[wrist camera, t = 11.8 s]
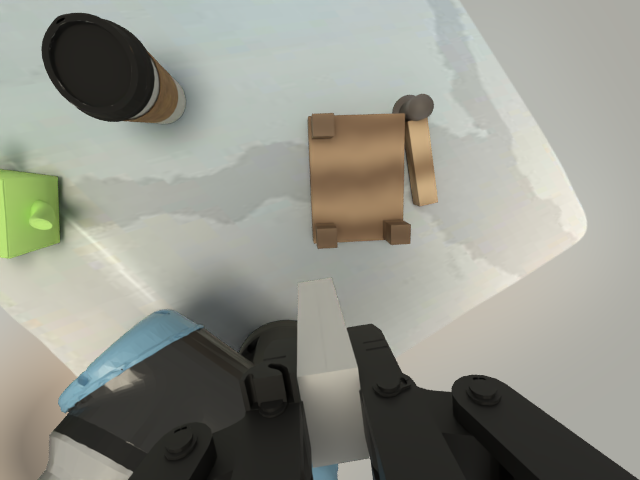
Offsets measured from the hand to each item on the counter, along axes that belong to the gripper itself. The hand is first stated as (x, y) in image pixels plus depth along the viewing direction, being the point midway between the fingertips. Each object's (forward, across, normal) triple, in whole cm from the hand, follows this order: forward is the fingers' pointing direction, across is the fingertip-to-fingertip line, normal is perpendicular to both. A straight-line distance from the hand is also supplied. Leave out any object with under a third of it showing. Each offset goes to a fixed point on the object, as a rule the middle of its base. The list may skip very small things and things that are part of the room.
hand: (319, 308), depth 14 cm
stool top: (+32, +9, +4) cm, 34 cm away
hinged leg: (+32, +16, +6) cm, 36 cm away
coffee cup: (+33, -16, +17) cm, 40 cm away
